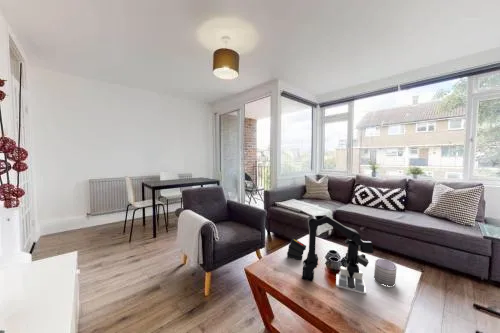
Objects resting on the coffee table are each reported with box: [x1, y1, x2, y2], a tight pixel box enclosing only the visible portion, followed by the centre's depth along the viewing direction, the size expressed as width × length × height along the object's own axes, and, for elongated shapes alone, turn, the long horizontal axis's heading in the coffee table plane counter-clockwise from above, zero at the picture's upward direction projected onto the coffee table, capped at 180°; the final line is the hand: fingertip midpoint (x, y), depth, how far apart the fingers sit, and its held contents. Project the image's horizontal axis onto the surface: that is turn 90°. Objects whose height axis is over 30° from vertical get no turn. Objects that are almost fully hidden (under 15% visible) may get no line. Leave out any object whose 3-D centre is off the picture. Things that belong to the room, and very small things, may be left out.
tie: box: [339, 266, 364, 280], centre depth 124 cm, size 12×2×4 cm, turn 67°
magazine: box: [286, 237, 307, 261], centre depth 152 cm, size 4×13×15 cm, turn 73°
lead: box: [347, 276, 355, 289], centre depth 126 cm, size 17×4×4 cm, turn 157°
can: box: [373, 258, 398, 286], centre depth 128 cm, size 11×11×12 cm
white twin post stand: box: [335, 271, 368, 295], centre depth 124 cm, size 16×12×5 cm
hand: (350, 275), depth 124 cm, fingers open, 5 cm apart
